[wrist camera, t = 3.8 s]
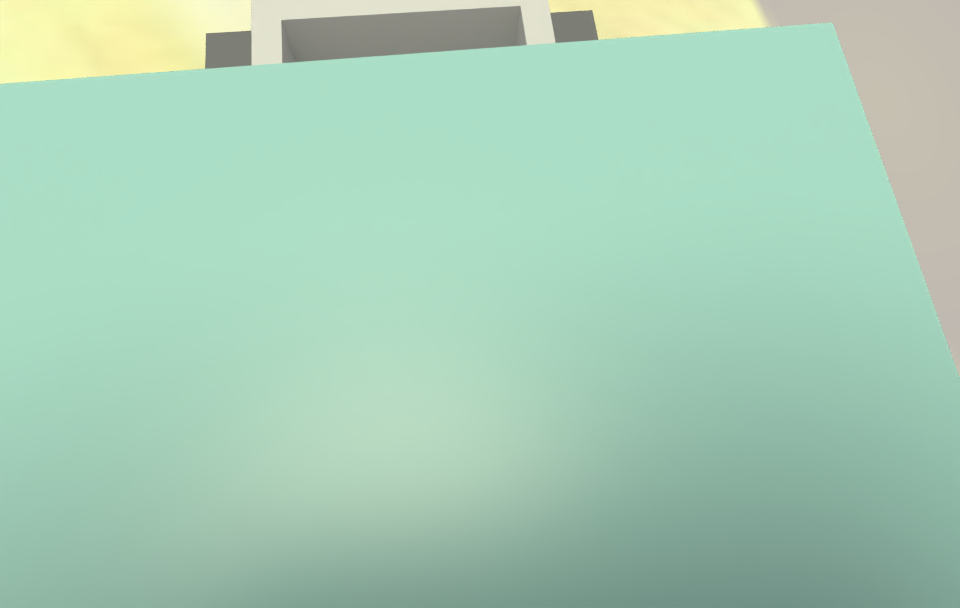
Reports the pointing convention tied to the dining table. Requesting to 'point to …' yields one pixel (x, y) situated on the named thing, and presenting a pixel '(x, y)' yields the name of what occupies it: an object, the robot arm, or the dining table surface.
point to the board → (389, 29)
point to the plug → (470, 336)
